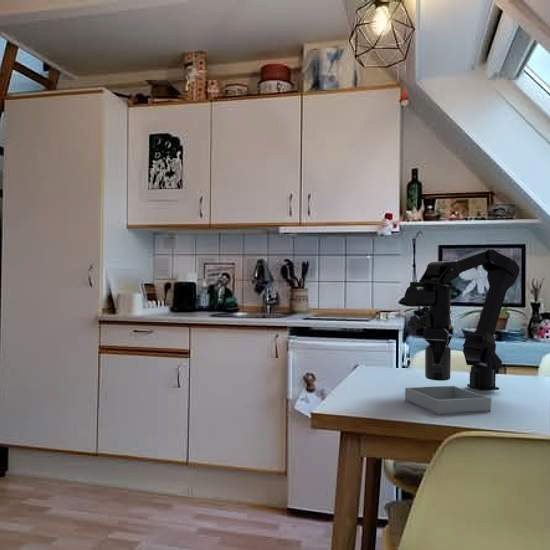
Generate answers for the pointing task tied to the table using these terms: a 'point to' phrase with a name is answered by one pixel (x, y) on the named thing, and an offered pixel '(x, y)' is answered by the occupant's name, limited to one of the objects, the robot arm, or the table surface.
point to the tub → (447, 400)
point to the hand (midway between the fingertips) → (438, 362)
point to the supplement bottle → (437, 365)
